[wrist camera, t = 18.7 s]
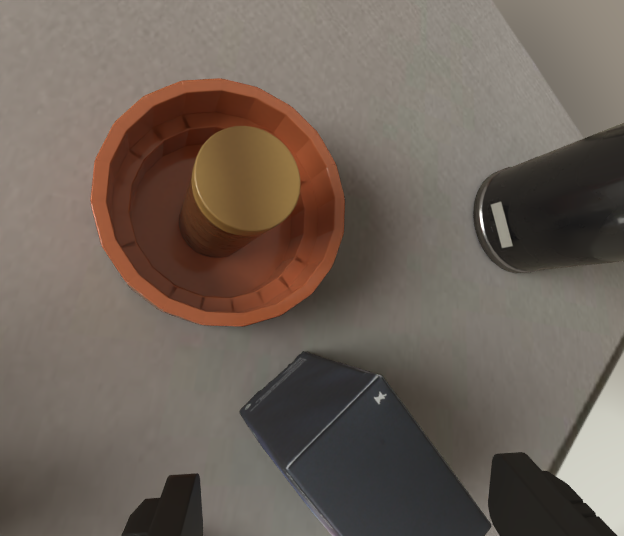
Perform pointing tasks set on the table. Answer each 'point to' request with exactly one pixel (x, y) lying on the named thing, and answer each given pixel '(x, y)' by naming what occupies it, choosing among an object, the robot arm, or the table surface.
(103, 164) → the bowl
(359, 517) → the small box
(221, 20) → the table surface
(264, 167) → the spice jar
